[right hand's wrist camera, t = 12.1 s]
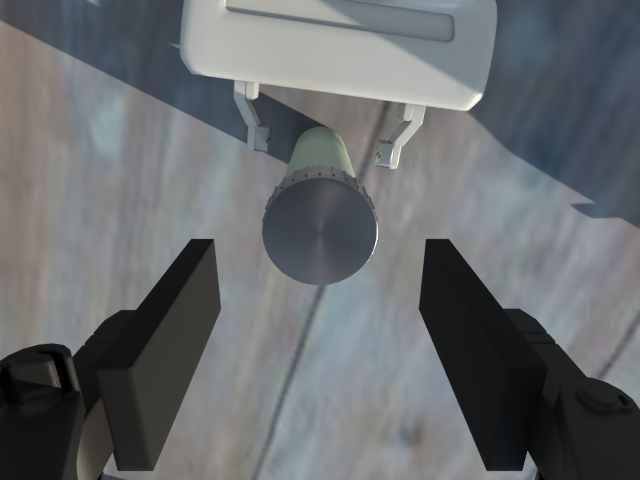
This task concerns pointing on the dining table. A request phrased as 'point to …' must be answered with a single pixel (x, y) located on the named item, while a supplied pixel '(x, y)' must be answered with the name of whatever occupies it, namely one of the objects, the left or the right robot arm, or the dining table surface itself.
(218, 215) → the dining table surface
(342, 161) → the jar
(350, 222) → the lid
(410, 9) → the left robot arm
